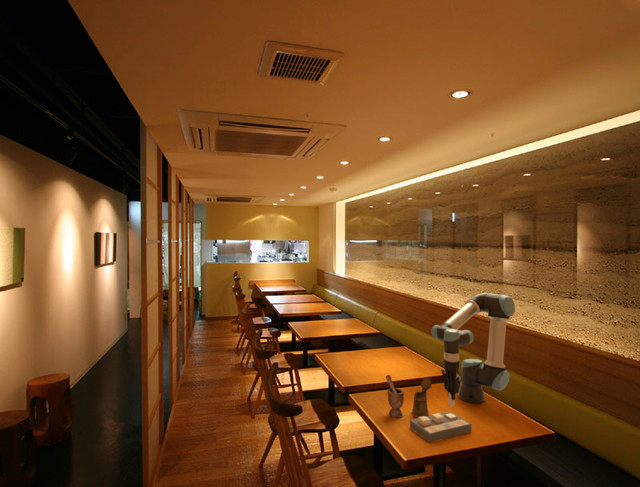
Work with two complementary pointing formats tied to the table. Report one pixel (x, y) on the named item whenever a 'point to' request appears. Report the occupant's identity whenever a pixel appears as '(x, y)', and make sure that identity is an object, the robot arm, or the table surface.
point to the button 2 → (450, 416)
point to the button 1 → (424, 421)
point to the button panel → (441, 428)
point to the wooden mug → (421, 399)
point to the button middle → (437, 418)
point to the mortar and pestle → (395, 399)
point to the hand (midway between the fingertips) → (451, 405)
